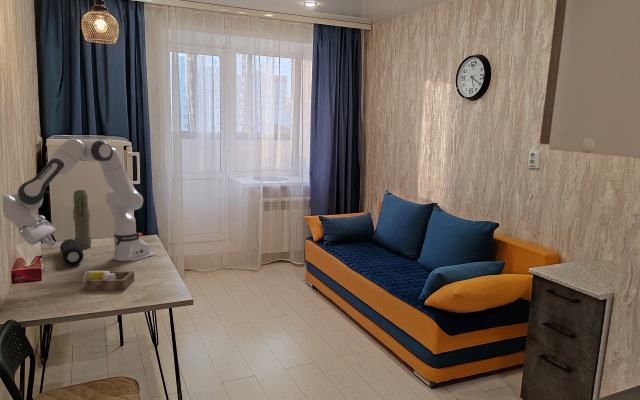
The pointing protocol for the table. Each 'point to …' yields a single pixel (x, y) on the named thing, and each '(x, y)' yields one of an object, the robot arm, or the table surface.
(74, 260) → the portable speaker
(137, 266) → the table surface
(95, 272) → the supplement bottle
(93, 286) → the wooden tray
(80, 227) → the thermos
